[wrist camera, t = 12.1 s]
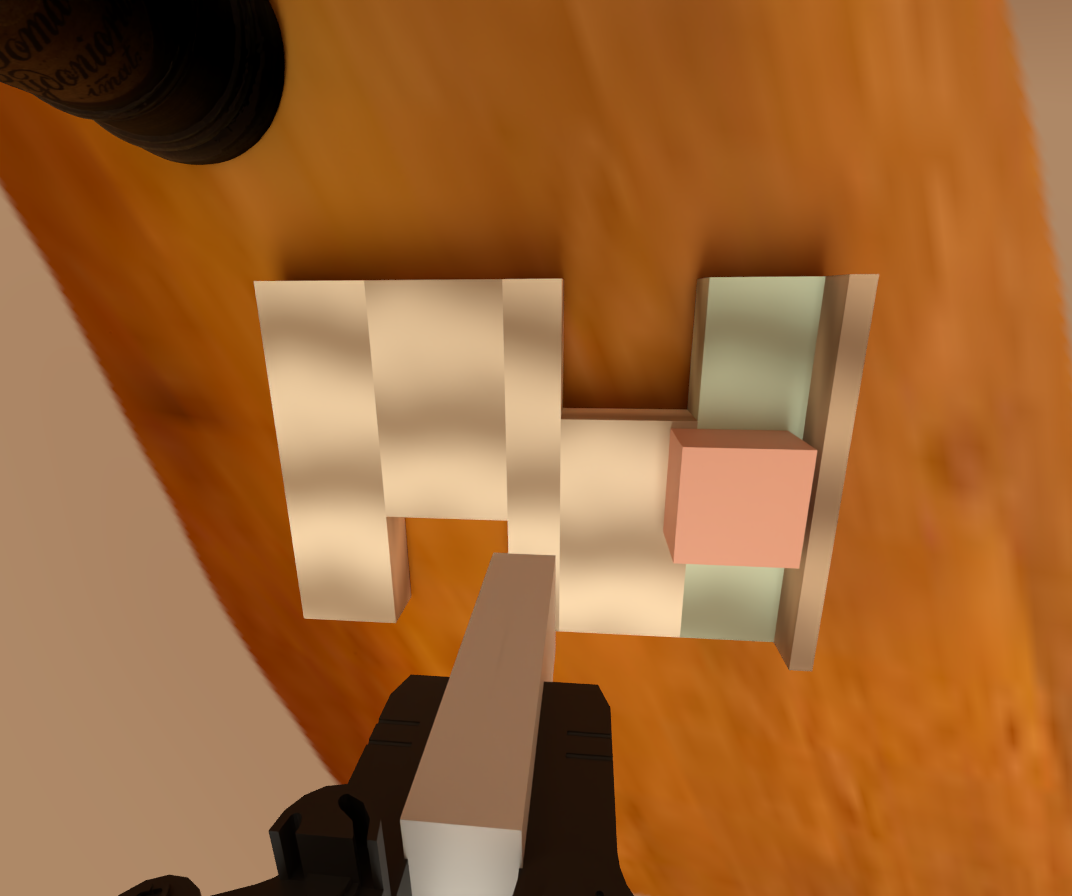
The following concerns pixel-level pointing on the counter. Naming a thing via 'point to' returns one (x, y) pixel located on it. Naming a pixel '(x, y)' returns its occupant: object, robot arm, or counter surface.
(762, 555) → the block
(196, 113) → the container
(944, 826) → the counter surface
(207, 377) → the counter surface
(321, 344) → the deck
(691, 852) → the counter surface
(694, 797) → the counter surface
